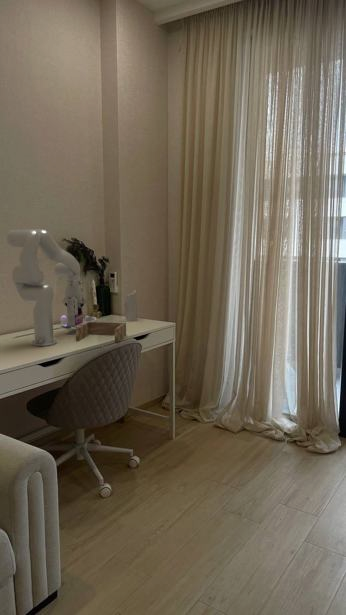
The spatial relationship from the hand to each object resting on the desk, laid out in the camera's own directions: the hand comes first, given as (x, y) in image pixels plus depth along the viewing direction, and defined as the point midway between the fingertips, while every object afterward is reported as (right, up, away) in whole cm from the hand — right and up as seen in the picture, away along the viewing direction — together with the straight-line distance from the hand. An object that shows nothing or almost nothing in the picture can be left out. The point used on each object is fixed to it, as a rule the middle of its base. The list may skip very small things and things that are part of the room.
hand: (75, 314), depth 263 cm
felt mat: (0, -11, +2) cm, 11 cm away
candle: (+26, -5, +38) cm, 46 cm away
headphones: (0, -8, +19) cm, 20 cm away
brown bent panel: (+18, -13, -14) cm, 26 cm away
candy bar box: (0, -6, +1) cm, 6 cm away
